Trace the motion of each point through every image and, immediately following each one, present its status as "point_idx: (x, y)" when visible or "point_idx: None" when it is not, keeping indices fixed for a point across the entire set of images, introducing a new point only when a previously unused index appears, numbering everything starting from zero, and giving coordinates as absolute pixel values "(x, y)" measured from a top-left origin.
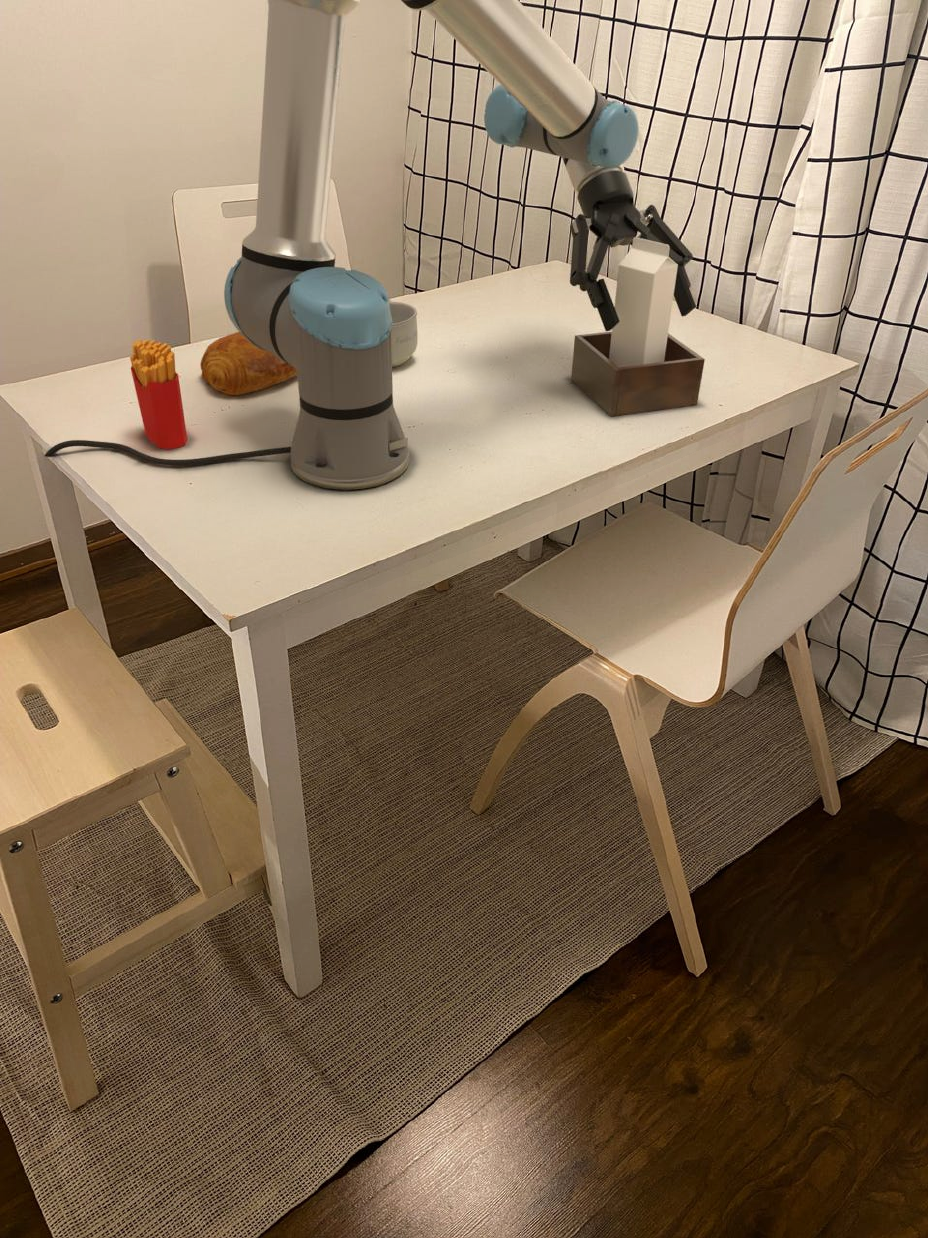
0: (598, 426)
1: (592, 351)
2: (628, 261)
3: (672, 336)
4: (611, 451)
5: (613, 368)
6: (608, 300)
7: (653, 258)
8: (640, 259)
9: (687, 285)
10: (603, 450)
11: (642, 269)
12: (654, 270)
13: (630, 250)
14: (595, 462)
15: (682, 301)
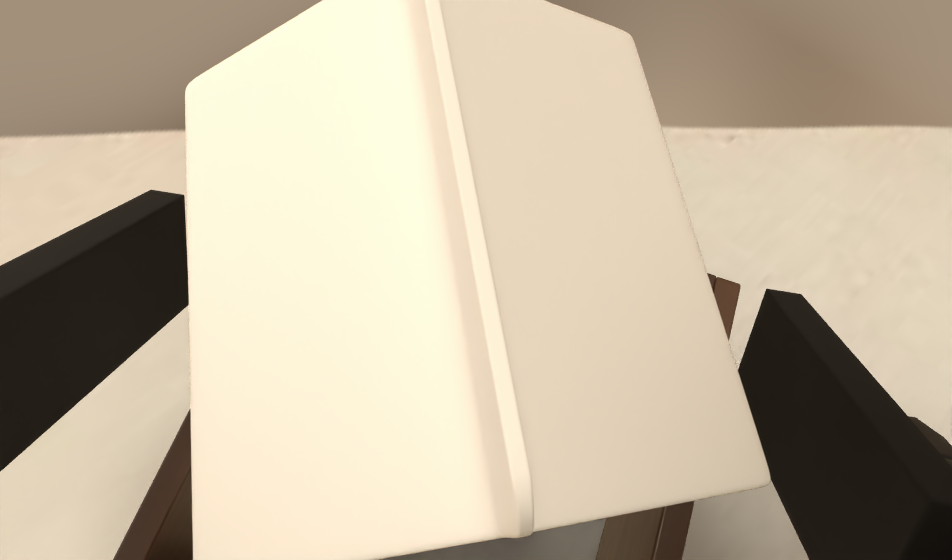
0: (755, 316)
1: (685, 535)
2: (686, 392)
3: (187, 419)
4: (820, 179)
5: (735, 307)
6: (857, 372)
7: (512, 102)
8: (594, 255)
9: (56, 242)
10: (838, 195)
11: (665, 163)
12: (608, 46)
13: (564, 513)
14: (901, 161)
15: (145, 286)
